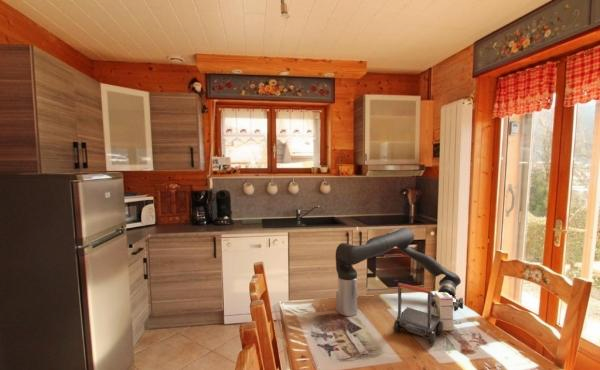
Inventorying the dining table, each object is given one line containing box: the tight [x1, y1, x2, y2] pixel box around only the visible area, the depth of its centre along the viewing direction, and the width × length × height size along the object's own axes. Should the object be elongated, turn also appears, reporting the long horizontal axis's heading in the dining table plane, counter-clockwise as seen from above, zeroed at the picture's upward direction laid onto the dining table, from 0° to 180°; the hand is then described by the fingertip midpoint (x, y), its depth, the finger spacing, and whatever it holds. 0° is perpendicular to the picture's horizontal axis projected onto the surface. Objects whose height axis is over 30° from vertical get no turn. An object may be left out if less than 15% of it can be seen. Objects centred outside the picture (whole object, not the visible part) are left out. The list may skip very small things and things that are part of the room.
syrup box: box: [434, 291, 454, 331], centre depth 129 cm, size 6×6×14 cm
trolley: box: [393, 282, 444, 346], centre depth 125 cm, size 15×15×21 cm
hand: (443, 306), depth 127 cm, fingers open, 8 cm apart
